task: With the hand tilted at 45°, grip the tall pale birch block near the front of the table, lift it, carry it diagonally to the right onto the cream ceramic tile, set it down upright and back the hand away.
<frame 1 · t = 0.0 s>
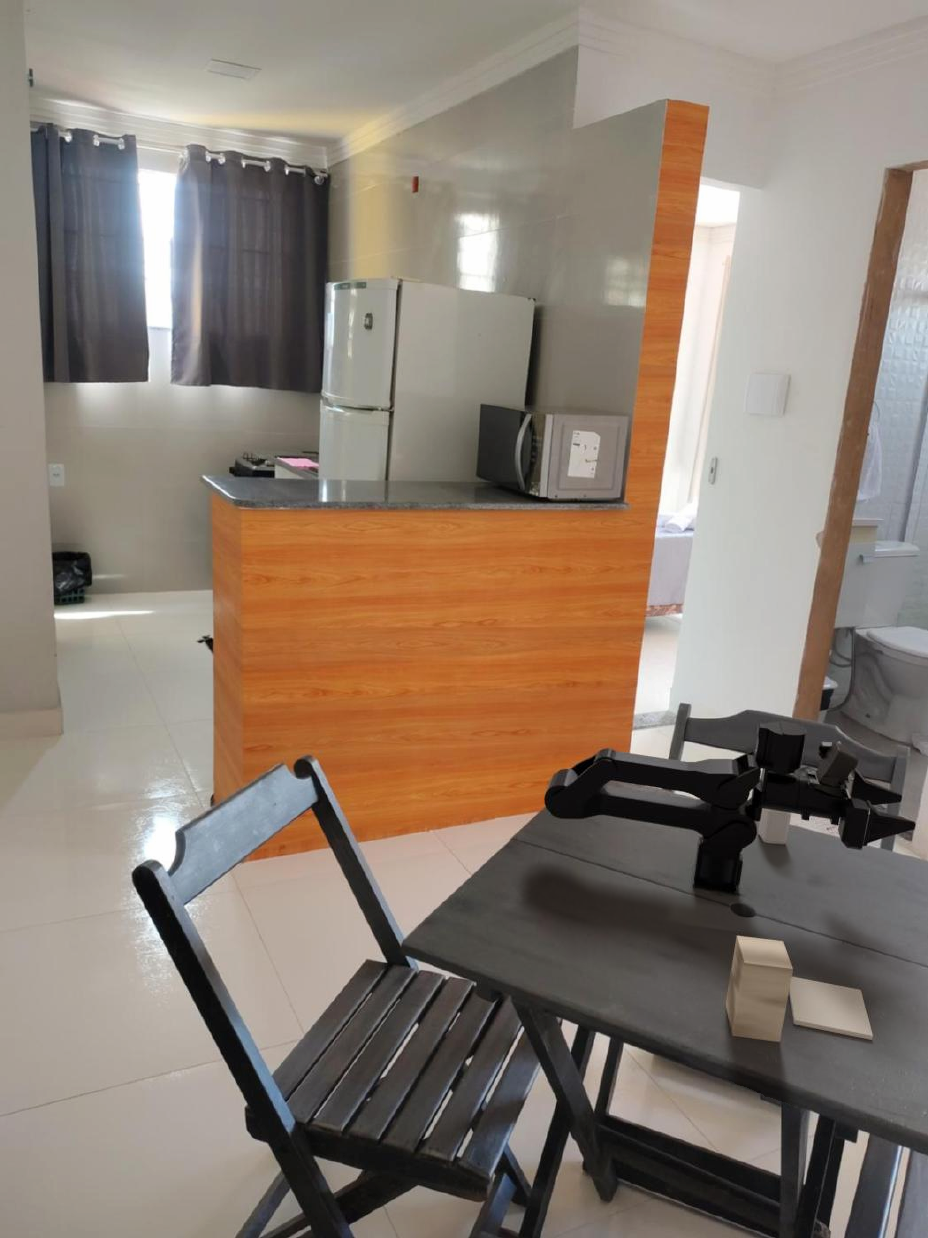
hand: (908, 811, 136), 17 cm above the table, tool horizontal, fingers open, 9 cm apart
pepper shaker: (771, 840, 161), on the table
cream tile: (827, 1008, 117), on the table
birch block: (751, 1023, 114), on the table
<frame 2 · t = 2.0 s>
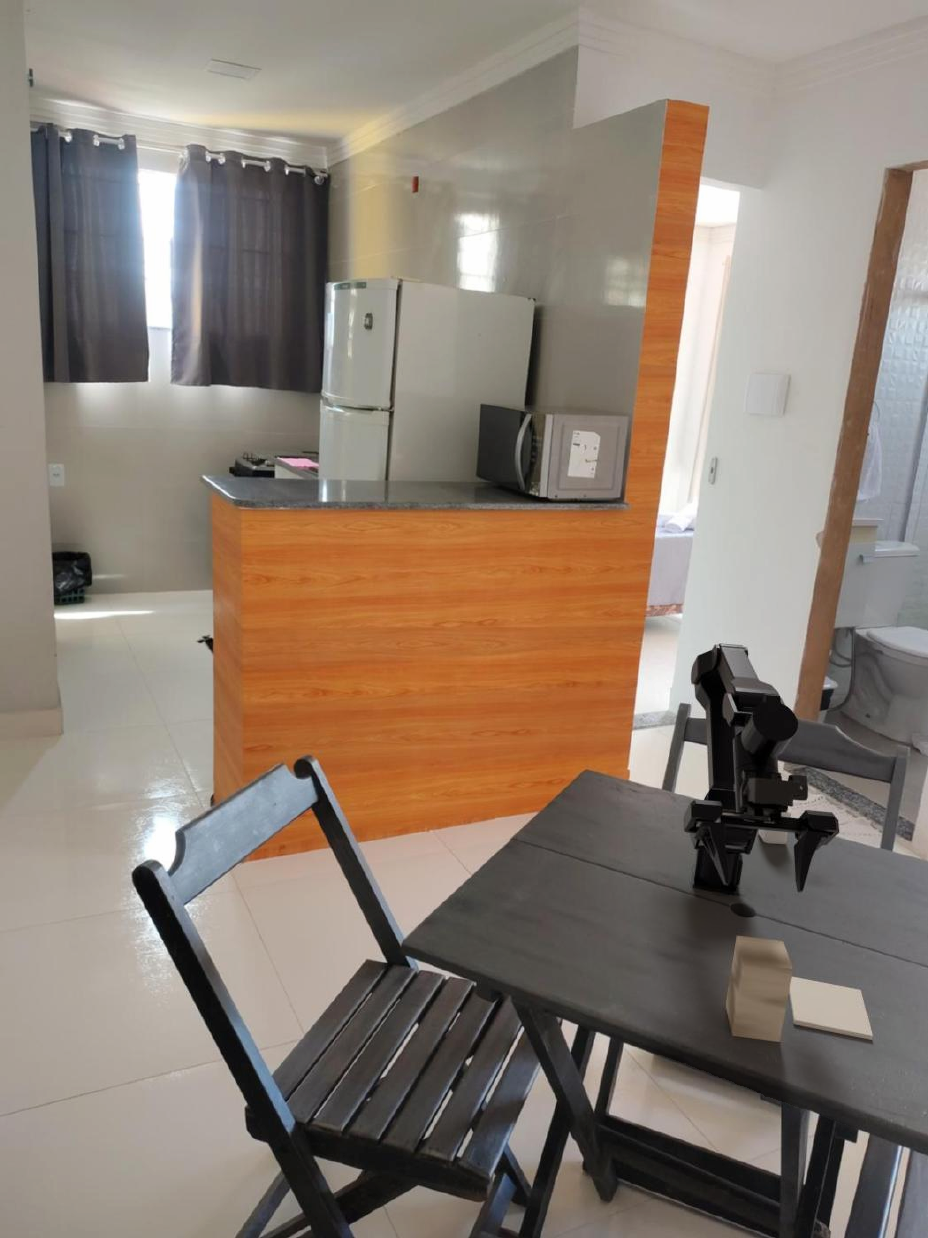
hand: (763, 888, 118), 14 cm above the table, tool tilted 45°, fingers open, 9 cm apart
nothing on the table moved.
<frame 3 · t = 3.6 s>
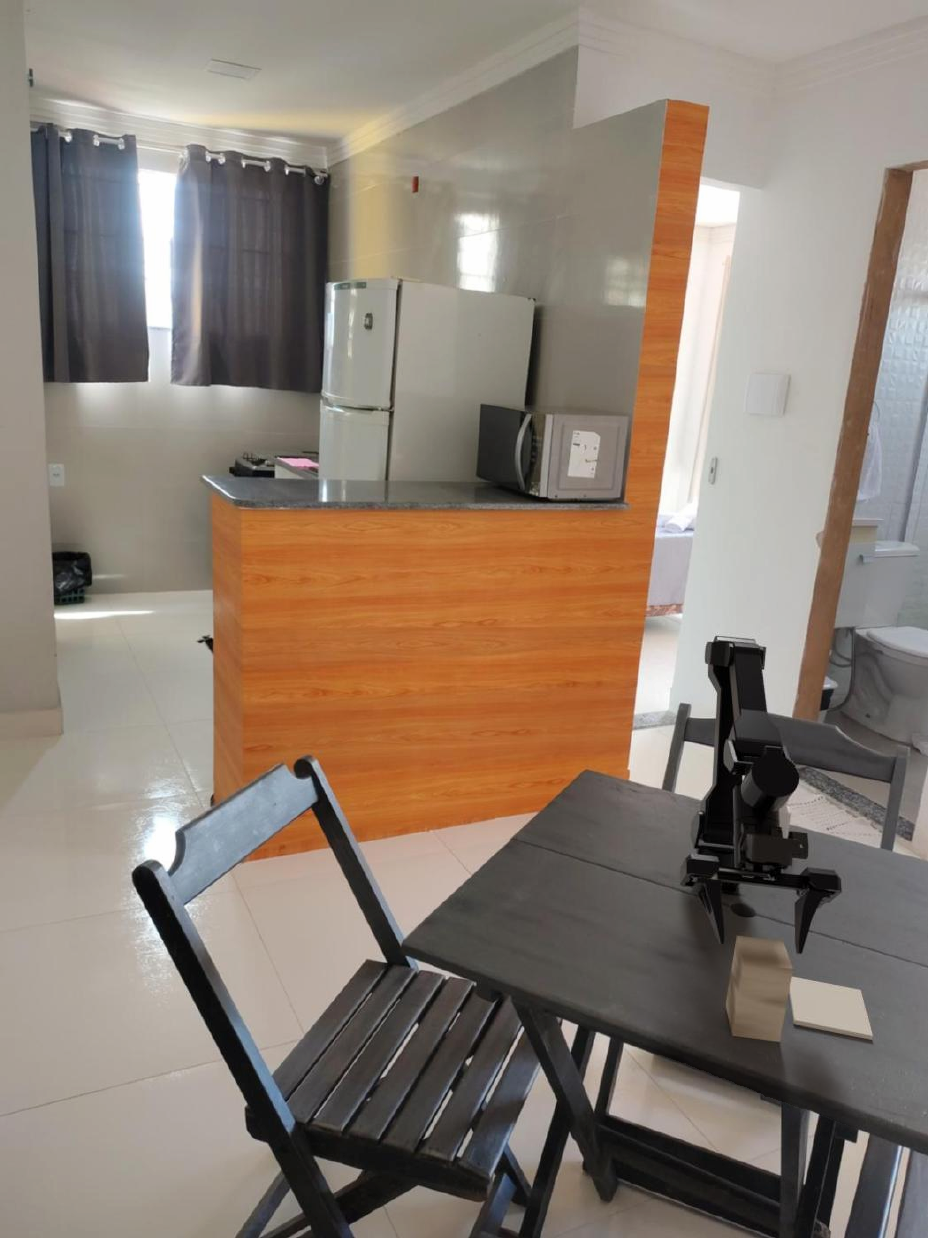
hand: (760, 949, 113), 9 cm above the table, tool tilted 45°, fingers open, 9 cm apart
nothing on the table moved.
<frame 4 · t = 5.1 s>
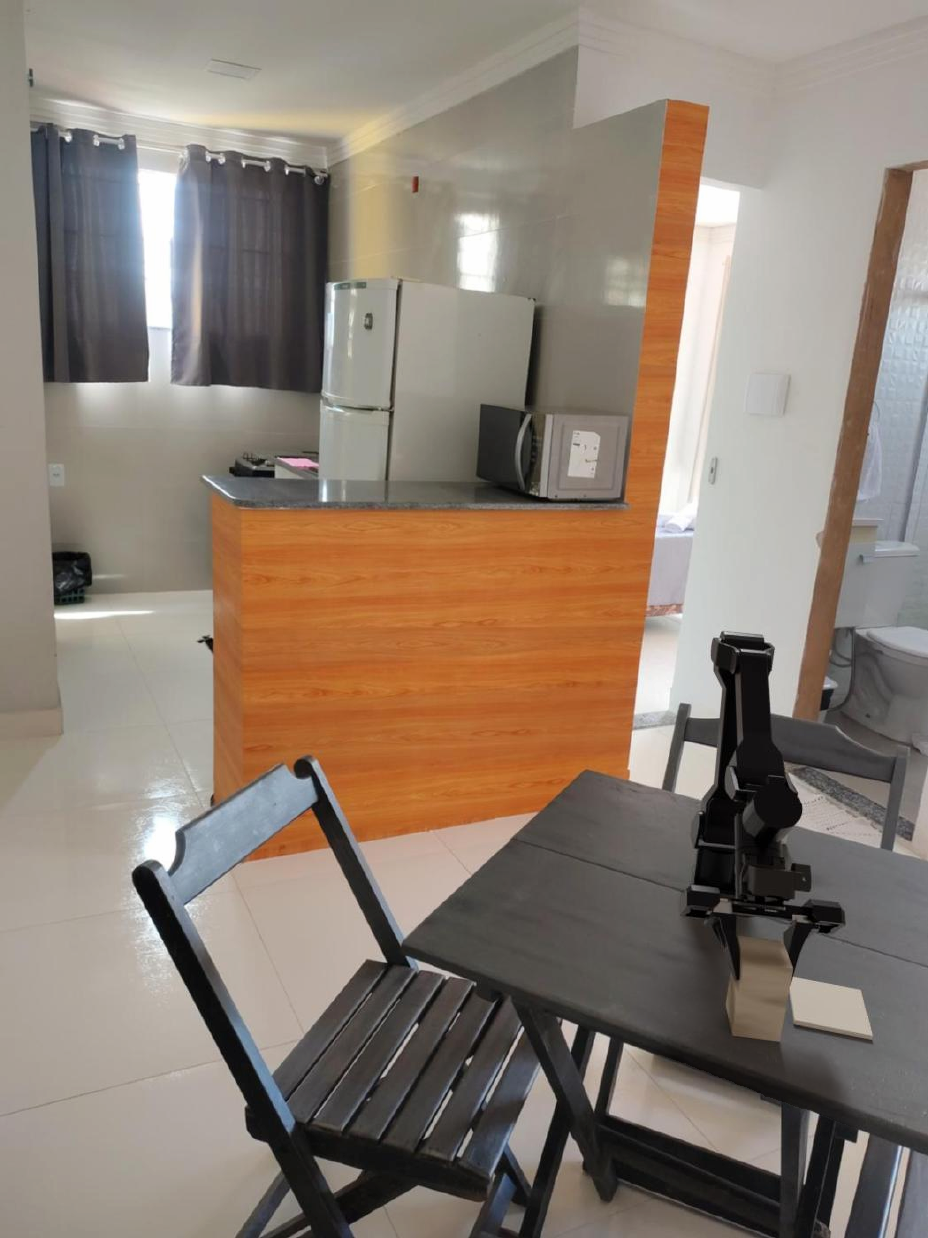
hand: (762, 983, 111), 7 cm above the table, tool tilted 45°, fingers closed on birch block, 5 cm apart
birch block: (751, 1023, 114), on the table, touching gripper
everything else where it was.
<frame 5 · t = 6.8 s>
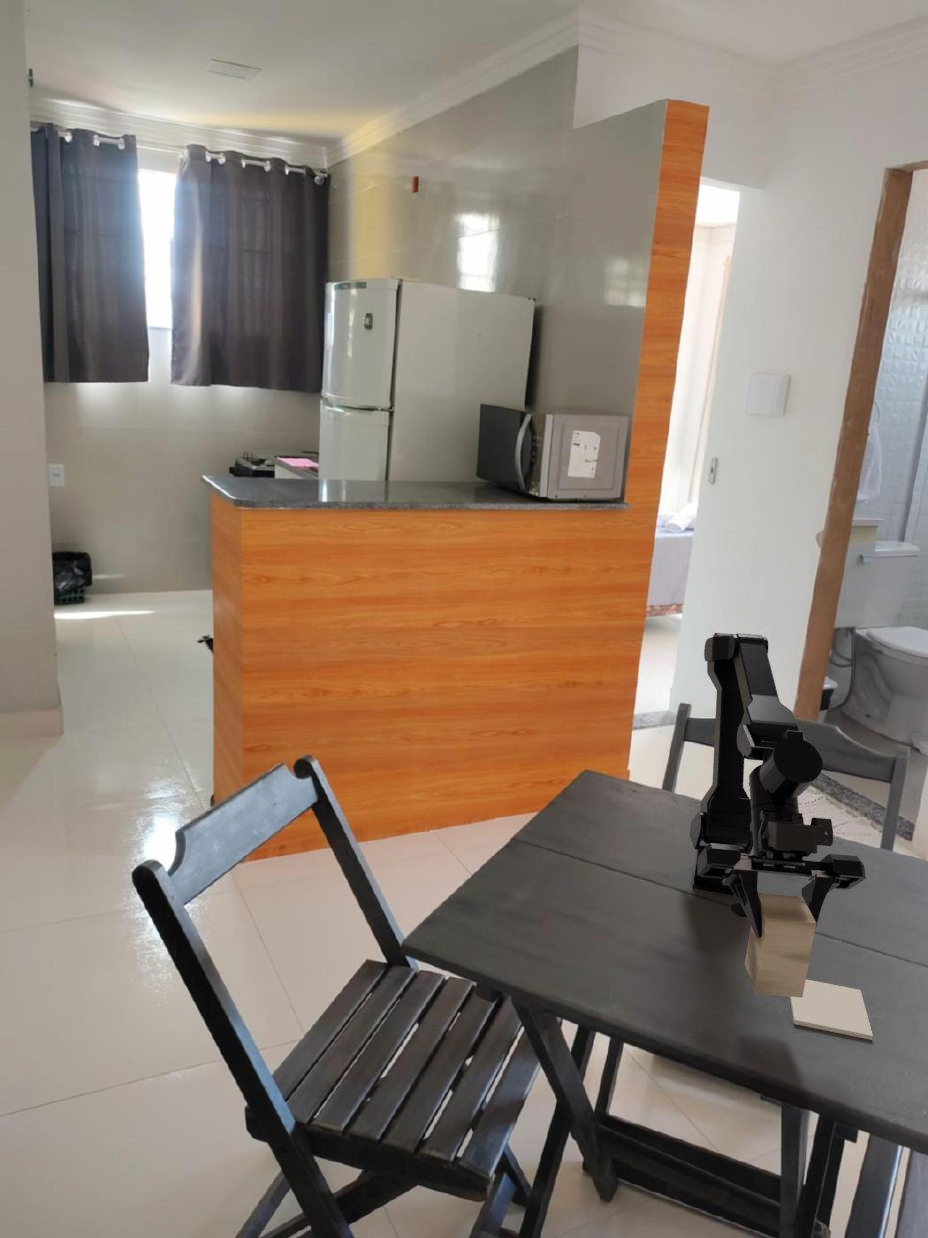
hand: (784, 939, 110), 12 cm above the table, tool tilted 45°, fingers closed on birch block, 5 cm apart
birch block: (772, 980, 113), point 6 cm above the table, touching gripper
everything else where it was.
when the fingers open (8 cm above the table, at t = 8.9 s): birch block drops 1 cm, resting on cream tile.
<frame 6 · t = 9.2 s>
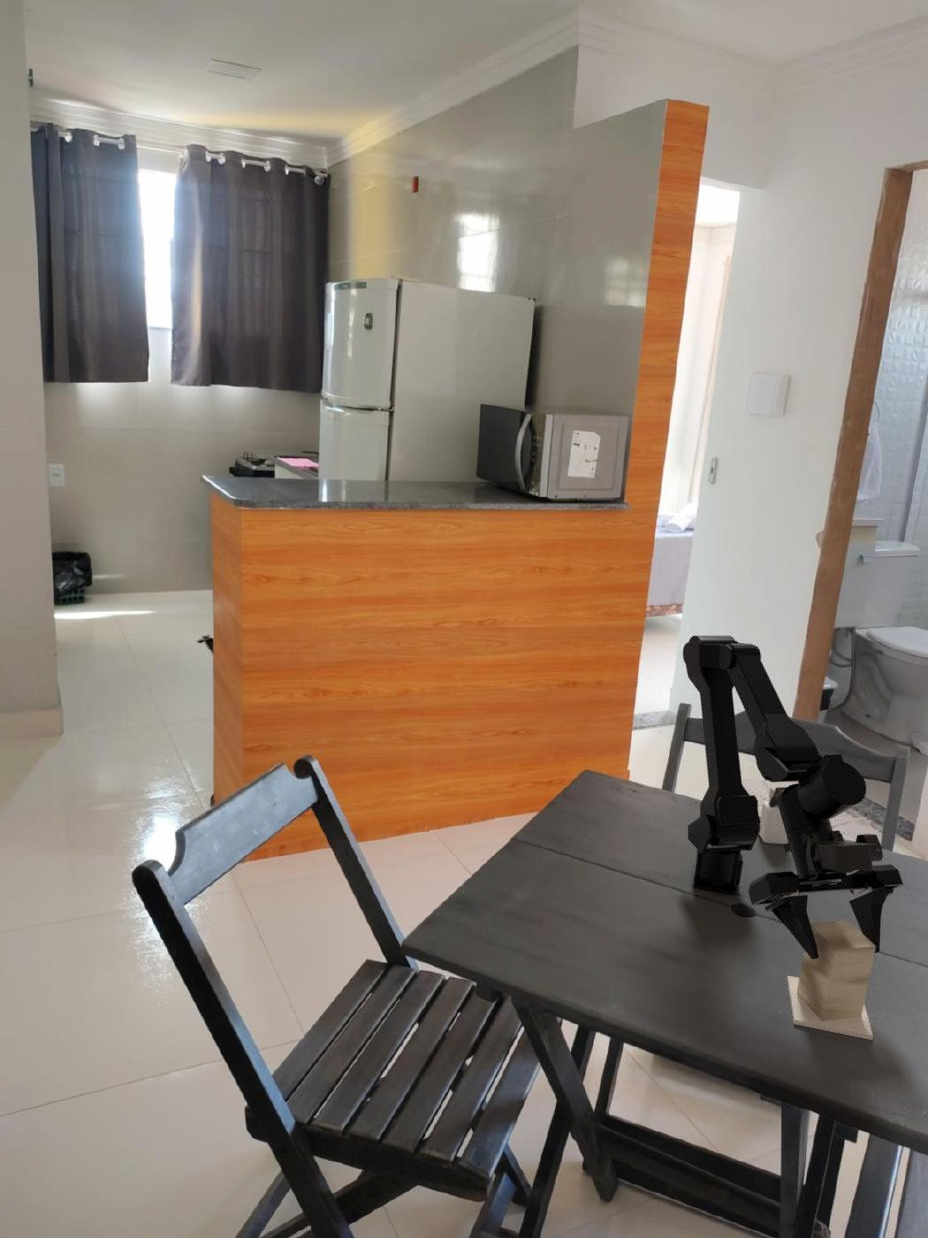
hand: (846, 956, 114), 9 cm above the table, tool tilted 45°, fingers open, 8 cm apart
birch block: (828, 1004, 117), point 1 cm above the table, touching cream tile
everything else where it was.
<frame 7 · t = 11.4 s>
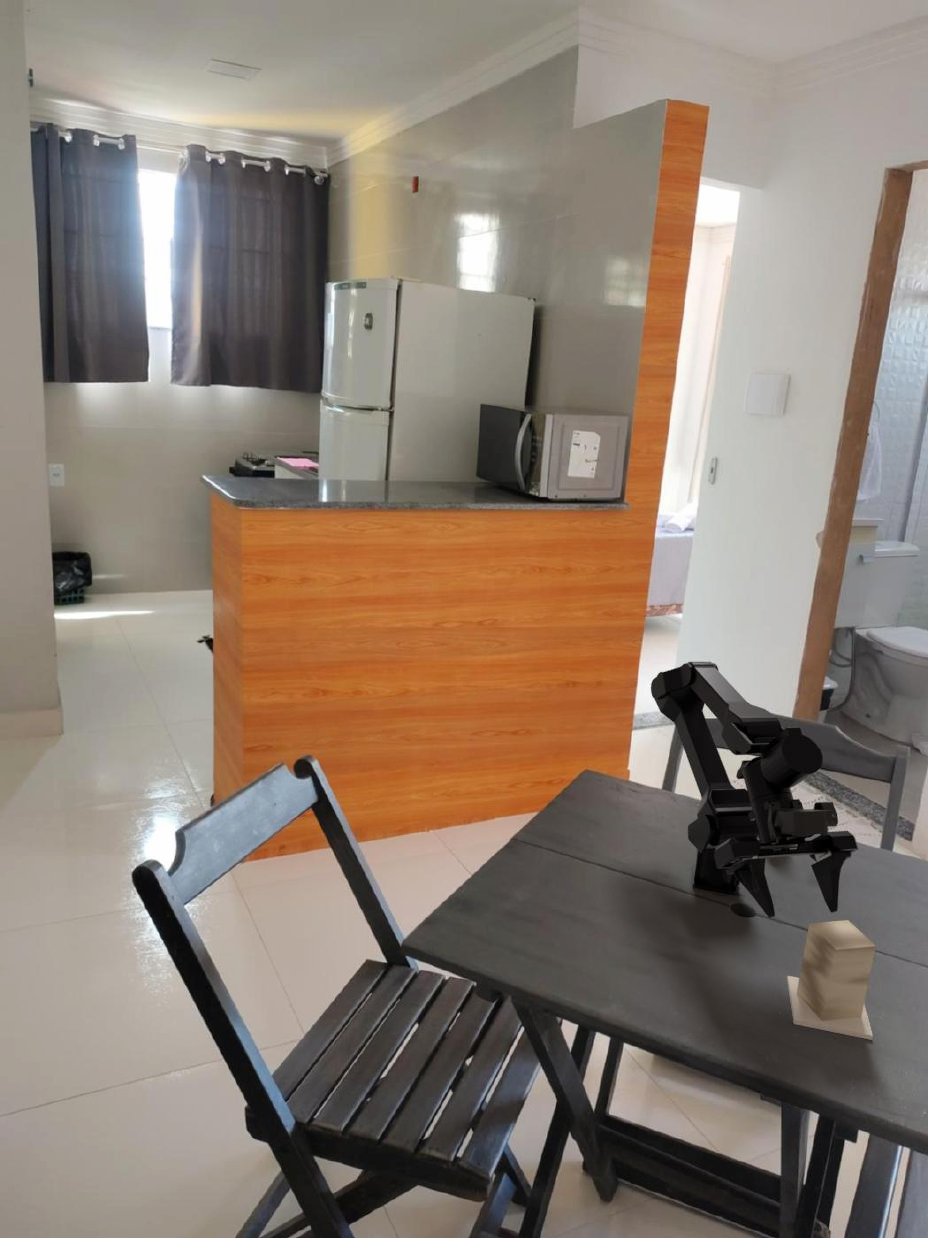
hand: (803, 914, 122), 8 cm above the table, tool tilted 45°, fingers open, 9 cm apart
nothing on the table moved.
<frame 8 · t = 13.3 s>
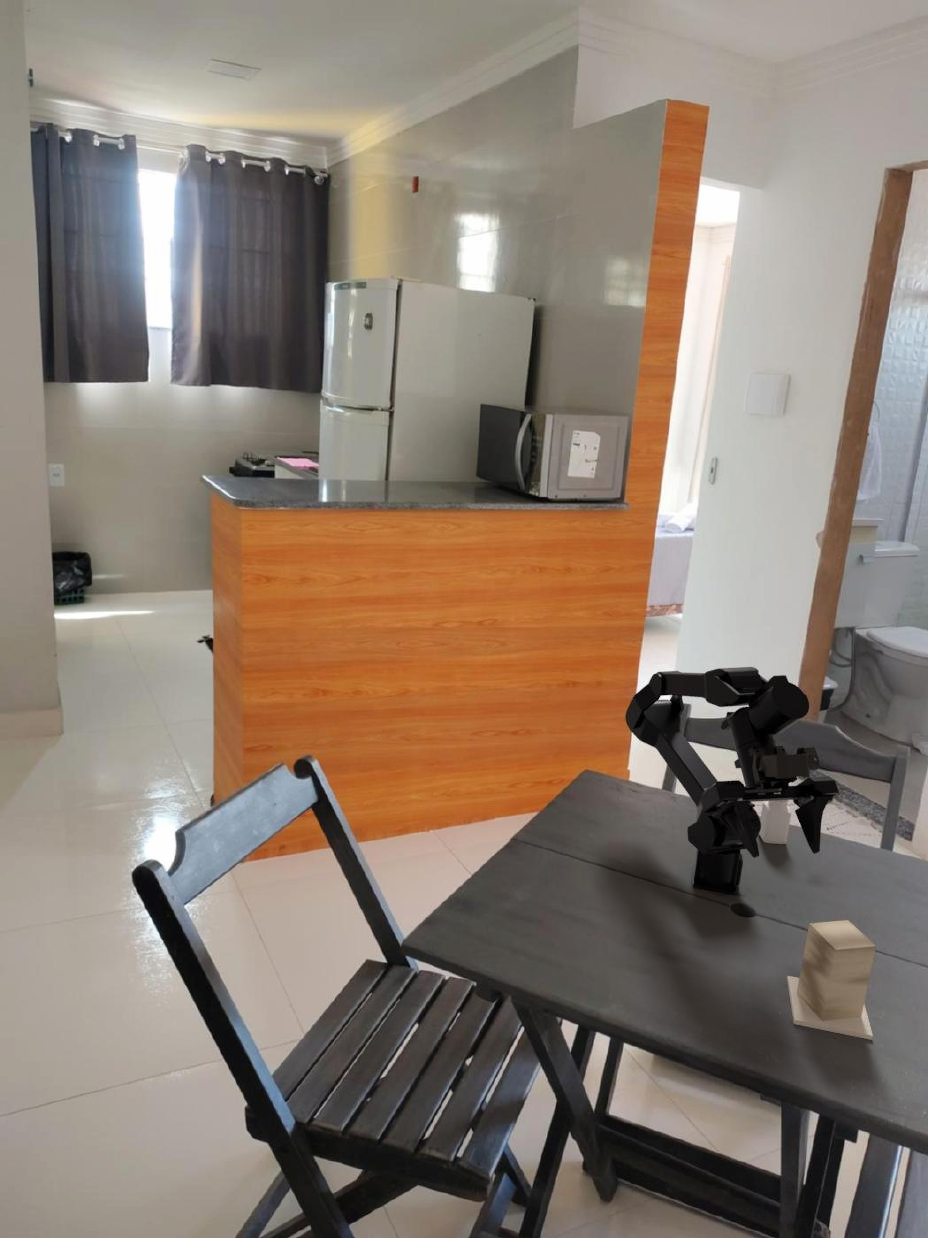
hand: (786, 855, 127), 14 cm above the table, tool tilted 45°, fingers open, 9 cm apart
nothing on the table moved.
at the end: birch block inside the target area on the cream tile (0.0 cm from its centre), point 0.6 cm above the cream tile's base; birch block tilted 0°; the gripper is holding nothing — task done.
